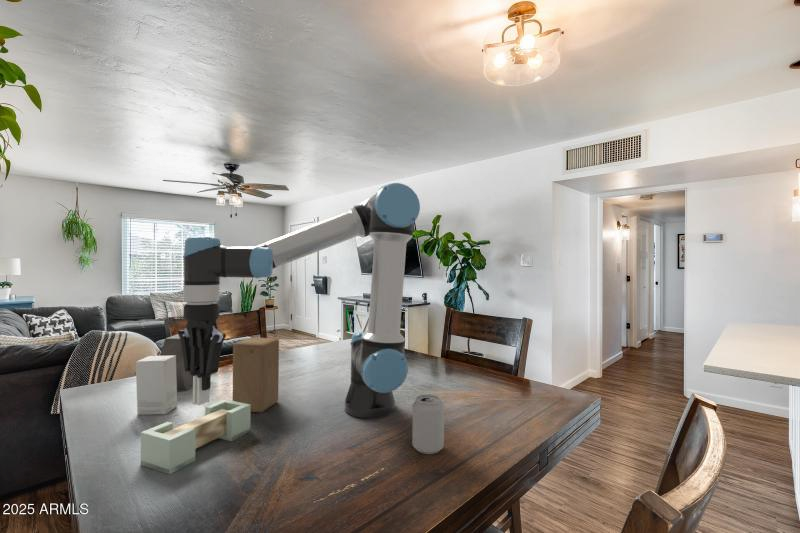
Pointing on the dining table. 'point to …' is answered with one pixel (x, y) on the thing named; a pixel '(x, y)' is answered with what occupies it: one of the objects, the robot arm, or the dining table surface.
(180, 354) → the planter
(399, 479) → the dining table surface
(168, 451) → the end caps
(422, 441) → the can
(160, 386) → the skincare box
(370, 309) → the robot arm
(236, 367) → the wooden block
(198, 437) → the slat
